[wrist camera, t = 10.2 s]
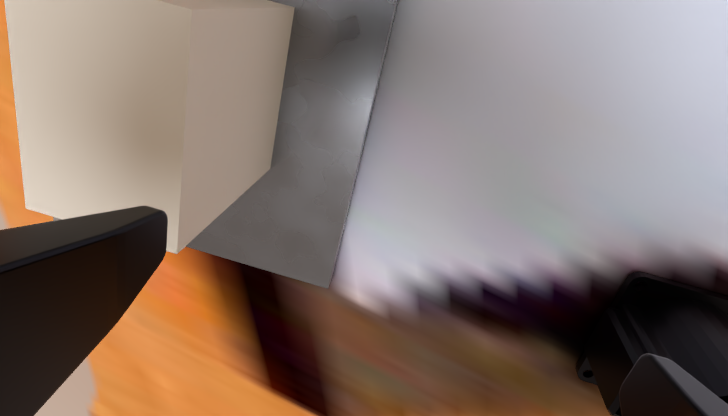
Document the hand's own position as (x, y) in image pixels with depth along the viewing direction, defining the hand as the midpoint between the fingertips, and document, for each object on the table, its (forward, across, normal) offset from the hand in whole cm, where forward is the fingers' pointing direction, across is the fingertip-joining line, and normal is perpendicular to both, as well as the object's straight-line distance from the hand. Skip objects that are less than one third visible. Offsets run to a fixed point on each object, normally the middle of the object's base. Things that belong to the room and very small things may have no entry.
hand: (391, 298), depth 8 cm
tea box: (+12, +9, 0) cm, 15 cm away
